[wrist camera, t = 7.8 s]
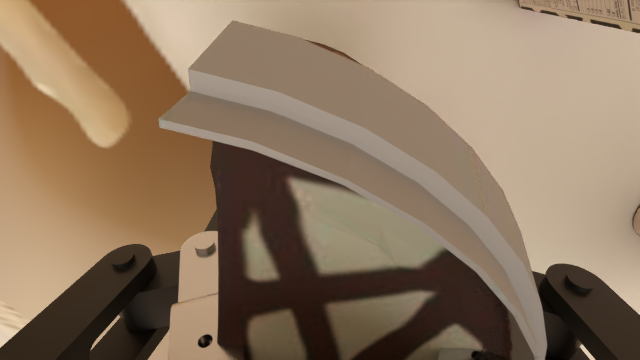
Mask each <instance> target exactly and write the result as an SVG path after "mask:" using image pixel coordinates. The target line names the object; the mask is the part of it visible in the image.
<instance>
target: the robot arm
mask: <svg viewBox="0 0 640 360" xmlns="http://www.w3.org/2000/svg"><path fill="white" fill-rule="evenodd" d="M633 225H634V229H635V231H636V233H637V234H638V235H639V236H640V208H639V209H638V211H637V213H636V215H635V217H634V222H633ZM532 273H533V277H534V280H535V284H536V287H537V291H538V294H539V298H540V301H541V305H542V309H543V317H544V325H545V332H546V340H547V350H546V356H545V360H590V359H589V358H588V357H587V355H586V354H585V353H584V352H583V351H582V349H581V348H580V345H581V344H583V345H584V346H585V348H586V349H587V350H588V351H589V352H590V354H591V355H592V356H593V357H594V358H595V360H640V315H639V314H638V313H637V312H636V311H635V310H633V309H632V308H631V307H630V306H629V305H628V304H627V303H626V302H625V301H624V300H623V299H622V298H620V297H619V296H618V295H617V294H616V293H615V292H614V291H613V290H612V289H611V288H610V287H609V286H608V285H606V284H605V283H604V282H603V281H602V280H601V279H600V278H598V277H597V276H596V275H594V274H593V273H591V272H589V271H587V270H585V269H583V268H580V267H577V266H574V265H570V264H554V265H552V266H550V267H549V268H548V270H547V271H546V273H545V274H541V273H537V272H534V271H532ZM118 315H119V316H120V318H119V320H118V321H117V322H116V323H115V324H114V325H113V326H112V328H111V329H110V330H109V331H108V332H107V333H106V334H105V335H104V336H103V338H102V339H101V340H100V341H99V342H98V343H97V344H96V345H95V347H94V348H93V349H92V350H91V351H90V349H91V347H92V345H93V343H94V342H95V340H96V339H97V338H98V337H99V336H100V334H101V333H102V332H103V331H104V330H105V329H106V328H107V327H108V326H109V325H110V323H111V322H112V321H113V320H114V319H115V318H116V317H117V316H118ZM169 329H170V330H169ZM168 330H169V347H168V360H246V359H245V355H244V350H243V345H220V344H217V332H218V216H217V210H216V212H215V213H214V215H213V217H212V219H211V221H210V222H209V224H208V226H207V228H206V230H205V231H204V232H202V233H198V234H196V235H194V236H192V237H191V238H189V239H188V240H187V241H186V242H185V243H184V244H183V245H182V247H181V250H180V251H176V252H171V253H166V254H161V255H156V256H152V253H151V251H150V249H149V248H148V247H146V246H144V245H141V244H131V245H126V246H122V247H120V248H117V249H115V250H113V251H111V252H110V253H108V254H107V255H106V256H104V257H103V258H102V259H101V260H100V261H99V262H97V263H96V264H95V265H94V266H93V267H92V268H91V269H90V270H88V271H87V272H86V273H85V274H84V275H83V276H82V277H80V278H79V279H78V280H77V281H76V282H75V283H74V284H73V285H71V286H70V287H69V288H68V289H67V290H66V291H64V293H62V294H61V295H60V296H59V297H58V298H57V299H55V300H54V301H53V302H52V303H51V304H50V305H49V306H48V307H46V308H45V309H44V310H43V311H42V312H41V313H39V314H38V315H37V316H36V317H35V318H34V319H33V320H32V321H30V322H29V323H28V324H27V325H26V326H25V327H24V328H22V329H21V330H20V331H19V332H18V333H17V334H16V335H14V336H13V337H12V338H11V339H10V340H9V341H8V342H7V343H5V344H4V345H3V346H2V347H1V348H0V360H147V359H148V358H149V357H150V355H151V354H152V353H153V351H154V350H155V348H156V347H157V346H158V344H159V343H160V341H161V340H162V339H163V337H164V336H165V335H166V333H167V332H168ZM437 360H512V359H509V358H506V357H503V356H500V355H497V354H494V353H491V352H488V351H485V350H480V349H468V348H440V351H439V354H438V357H437Z"/></svg>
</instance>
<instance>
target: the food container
mask: <svg viewBox="0 0 640 360" xmlns="http://www.w3.org/2000/svg"><path fill="white" fill-rule="evenodd" d="M188 71H189V81H190V90H191V91H190V92H189V93H188V94H187V95H186V96H184V97H183V98H182V99H181V100H180V101H179V102H177V103H176V104H175V105H174V106H173V107H172V108H171V109H169V110H168V111H167V112H166V113H165V114H164V115H163V116H161V117H160V118H159V124H160V127H161V128H165V129H169V130H173V131H177V132H181V133H185V134H189V135H193V136H197V137H201V138H205V139H209V140H213V148H212V156H211V165H210V167H211V172H212V177H213V181H214V185H215V191H216V204H217V216H218V332H217V344H220V345H243V350H244V355H245V359H246V360H437V357H438V354H439V351H440V348H468V349H480V350H485V351H488V352H491V353H494V354H497V355H500V356H503V357H506V358H509V359H512V360H545V356H546V350H547V340H546V332H545V325H544V317H543V309H542V305H541V301H540V298H539V294H538V291H537V287H536V284H535V280H534V277H533V273H532V270H531V266H530V263H529V259H528V256H527V252H526V249H525V245H524V242H523V238H522V235H521V232H520V229H519V227H518V225H517V222H516V220H515V218H514V215H513V213H512V211H511V208H510V206H509V204H508V201H507V199H506V197H505V194H504V192H503V190H502V189H501V187H500V186H499V185H498V183H497V182H496V180H495V179H494V178H493V176H492V175H491V174H490V172H489V171H488V169H487V168H486V167H485V165H484V164H483V162H482V161H481V160H480V158H479V157H478V155H477V154H476V153H475V151H474V150H473V149H472V147H471V146H470V145H468V144H467V143H466V142H465V141H464V140H463V139H462V138H461V137H460V136H459V135H458V134H457V133H456V132H455V131H453V130H452V129H451V128H450V127H449V126H448V125H447V124H446V123H445V122H444V121H443V120H442V119H441V118H440V117H439V116H437V115H436V114H435V113H434V112H433V111H432V110H431V109H430V108H429V107H428V106H427V105H425V104H424V103H422V102H420V101H419V100H417V99H416V98H414V97H413V96H411V95H410V94H408V93H407V92H405V91H404V90H402V89H400V88H399V87H397V86H396V85H394V84H393V83H391V82H390V81H388V80H387V79H385V78H384V77H382V76H380V75H379V74H377V73H376V72H374V71H373V70H371V69H370V68H368V67H365V66H363V65H362V64H360V63H359V62H357V61H356V60H354V59H352V58H351V57H349V56H348V55H346V54H344V53H342V52H340V51H338V50H335V49H333V48H331V47H328V46H326V45H323V44H319V43H315V42H311V41H307V40H303V39H301V38H298V37H294V36H290V35H287V34H283V33H279V32H275V31H271V30H267V29H263V28H259V27H256V26H252V25H248V24H244V23H240V22H236V21H232V22H231V23H230V24H229V25H228V26H227V27H226V28H225V29H224V31H223V32H222V33H221V34H220V35H219V36H218V37H217V38H216V39H215V40H214V41H213V43H212V44H211V45H210V46H209V47H208V48H207V49H206V50H205V51H204V52H203V53H202V55H201V56H200V57H199V58H198V59H197V60H196V61H195V62H194V63H193V64H192V65H191V67H190V68H189V69H188Z"/></svg>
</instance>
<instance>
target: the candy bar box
mask: <svg viewBox="0 0 640 360" xmlns="http://www.w3.org/2000/svg"><path fill="white" fill-rule="evenodd" d="M519 4H520V8H522V9H527V10H531V11H536V12H540V13H546V14H551V15H556V16H560V17H565V18H569V19H575V20H578V21H584V22H588V23H593V24H599V25H603V26H608V27H613V28H618V29H623V30H626V31H631V32H636V33H640V0H519Z"/></svg>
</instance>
